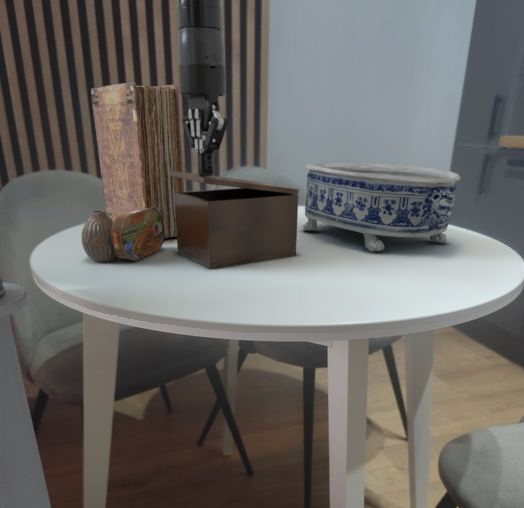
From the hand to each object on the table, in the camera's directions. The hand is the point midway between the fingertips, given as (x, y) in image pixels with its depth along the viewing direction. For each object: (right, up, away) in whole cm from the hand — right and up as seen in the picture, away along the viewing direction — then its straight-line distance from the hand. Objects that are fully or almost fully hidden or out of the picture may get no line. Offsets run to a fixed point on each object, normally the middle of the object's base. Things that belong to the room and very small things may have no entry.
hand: (205, 175), depth 88 cm
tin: (-13, -13, +8) cm, 20 cm away
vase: (-20, -14, +5) cm, 25 cm away
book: (-18, -3, +28) cm, 34 cm away
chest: (+5, -12, +9) cm, 16 cm away
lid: (+5, 0, +4) cm, 6 cm away
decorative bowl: (+35, -5, +25) cm, 43 cm away
